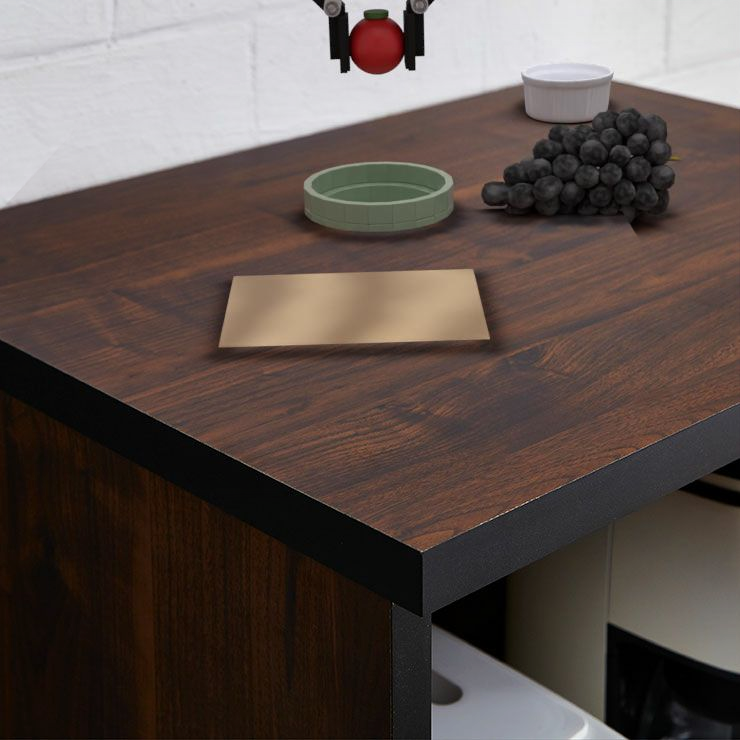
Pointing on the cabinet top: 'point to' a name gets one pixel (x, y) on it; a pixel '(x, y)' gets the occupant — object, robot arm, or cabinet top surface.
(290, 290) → the serving board
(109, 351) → the cabinet top surface
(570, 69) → the ramekin
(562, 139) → the fruit
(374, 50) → the tomato
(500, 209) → the cabinet top surface
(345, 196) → the bowl
